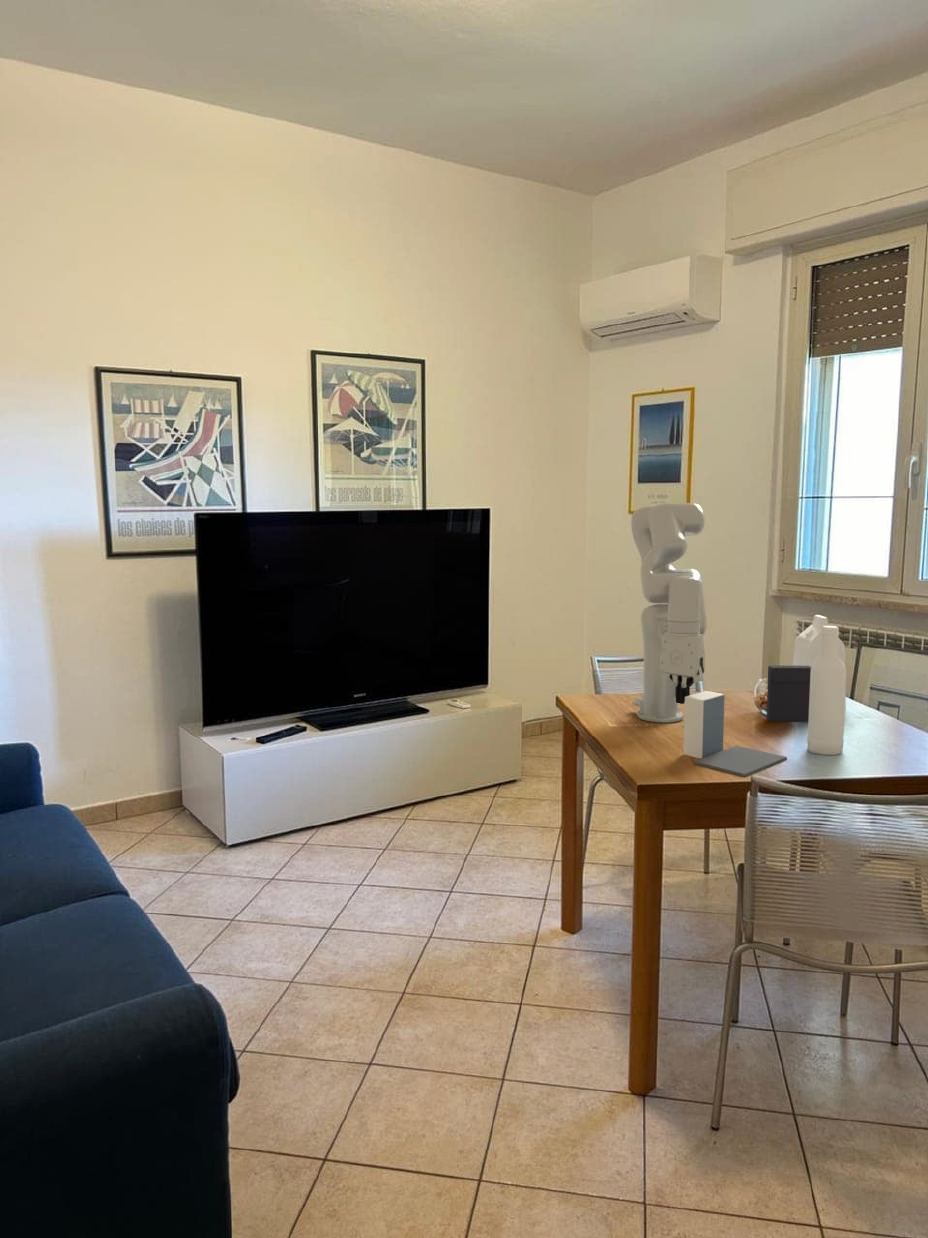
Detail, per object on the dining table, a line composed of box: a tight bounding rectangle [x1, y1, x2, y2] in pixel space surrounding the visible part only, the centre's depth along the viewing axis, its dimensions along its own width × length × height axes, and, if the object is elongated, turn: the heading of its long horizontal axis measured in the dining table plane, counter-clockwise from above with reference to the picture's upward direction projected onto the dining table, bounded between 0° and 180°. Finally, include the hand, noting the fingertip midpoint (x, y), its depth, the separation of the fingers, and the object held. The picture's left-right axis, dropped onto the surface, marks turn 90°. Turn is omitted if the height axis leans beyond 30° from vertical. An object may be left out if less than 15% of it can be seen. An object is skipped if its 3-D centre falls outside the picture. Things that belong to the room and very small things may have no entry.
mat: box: [693, 745, 788, 777], centre depth 197 cm, size 13×18×1 cm
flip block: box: [683, 690, 726, 759], centre depth 203 cm, size 5×9×14 cm, turn 131°
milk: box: [792, 614, 847, 710], centre depth 248 cm, size 12×12×26 cm
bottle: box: [806, 625, 847, 756], centre depth 202 cm, size 8×8×30 cm
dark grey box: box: [766, 665, 811, 723], centre depth 231 cm, size 11×4×15 cm, turn 84°
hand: (682, 702), depth 207 cm, fingers closed
